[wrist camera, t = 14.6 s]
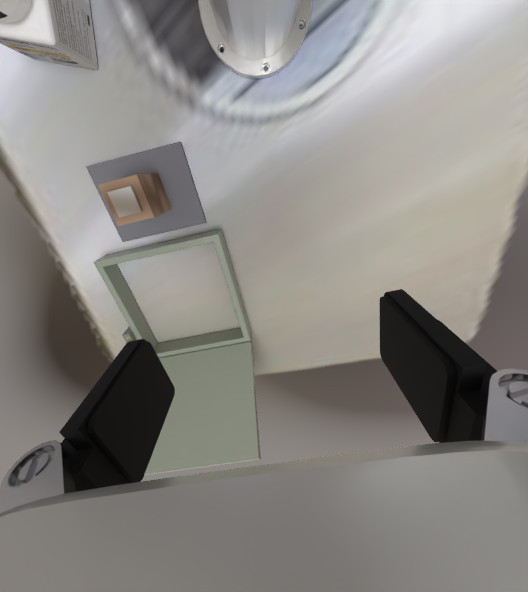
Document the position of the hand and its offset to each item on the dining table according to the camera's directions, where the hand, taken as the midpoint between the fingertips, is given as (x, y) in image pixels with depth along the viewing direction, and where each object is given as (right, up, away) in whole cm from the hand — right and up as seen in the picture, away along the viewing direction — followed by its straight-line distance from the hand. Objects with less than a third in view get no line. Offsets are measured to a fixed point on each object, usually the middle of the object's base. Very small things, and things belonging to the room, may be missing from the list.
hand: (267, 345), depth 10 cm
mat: (-17, +17, +27) cm, 37 cm away
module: (-17, +17, +27) cm, 36 cm away
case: (-14, -2, +37) cm, 40 cm away
